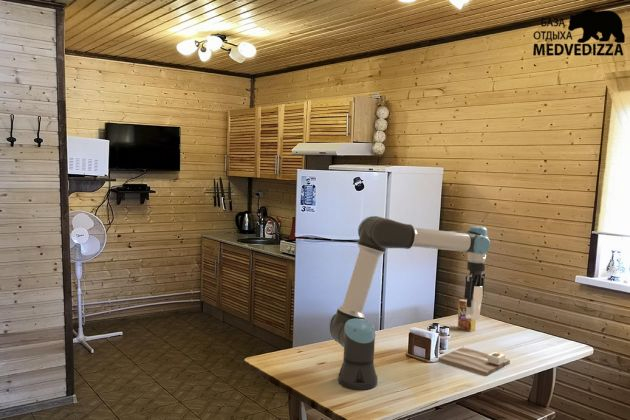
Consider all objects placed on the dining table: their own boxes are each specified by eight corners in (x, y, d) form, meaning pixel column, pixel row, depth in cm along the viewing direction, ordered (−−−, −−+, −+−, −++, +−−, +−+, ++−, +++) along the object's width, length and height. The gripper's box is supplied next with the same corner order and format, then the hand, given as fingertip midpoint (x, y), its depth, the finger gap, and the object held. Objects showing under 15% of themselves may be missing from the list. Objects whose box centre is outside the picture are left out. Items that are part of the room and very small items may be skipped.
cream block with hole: (498, 364, 224) (499, 357, 224) (487, 361, 228) (487, 354, 227) (504, 361, 229) (505, 354, 228) (493, 358, 232) (494, 351, 232)
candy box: (456, 327, 285) (458, 299, 284) (462, 326, 288) (463, 299, 287) (470, 332, 278) (472, 303, 277) (475, 331, 281) (477, 302, 279)
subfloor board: (486, 375, 217) (486, 372, 217) (438, 360, 232) (438, 357, 232) (509, 363, 233) (509, 360, 232) (463, 350, 248) (463, 346, 248)
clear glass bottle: (481, 320, 231) (484, 287, 230) (465, 319, 233) (467, 285, 232) (480, 316, 238) (482, 284, 237) (464, 315, 240) (466, 282, 239)
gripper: (473, 264, 224) (470, 318, 226) (494, 260, 238) (491, 311, 240) (457, 262, 229) (454, 314, 231) (478, 258, 243) (475, 307, 245)
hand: (473, 312), depth 235 cm, fingers closed on clear glass bottle, 6 cm apart
